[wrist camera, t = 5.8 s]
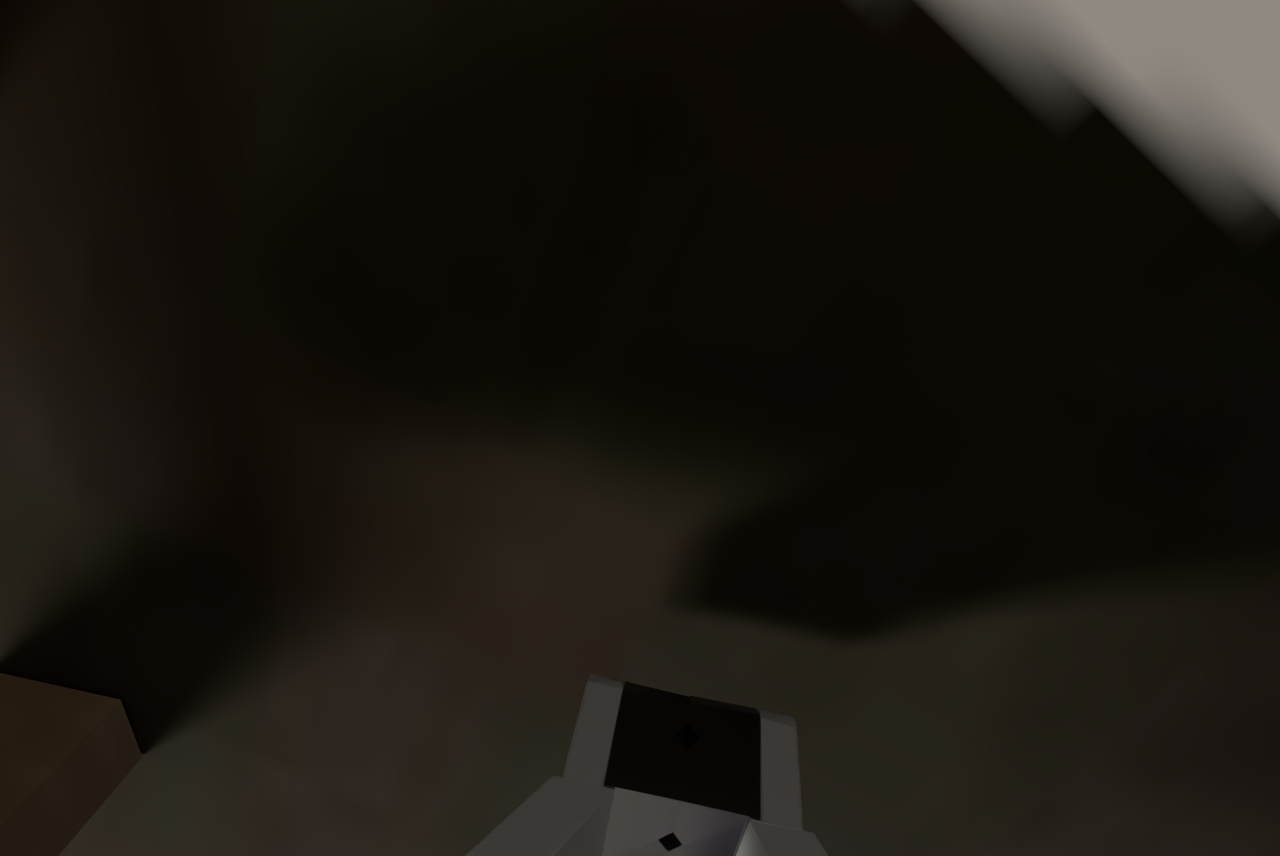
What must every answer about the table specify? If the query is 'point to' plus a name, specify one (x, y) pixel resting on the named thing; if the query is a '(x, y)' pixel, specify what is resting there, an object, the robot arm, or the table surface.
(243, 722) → the table surface
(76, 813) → the bridge
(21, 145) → the table surface
